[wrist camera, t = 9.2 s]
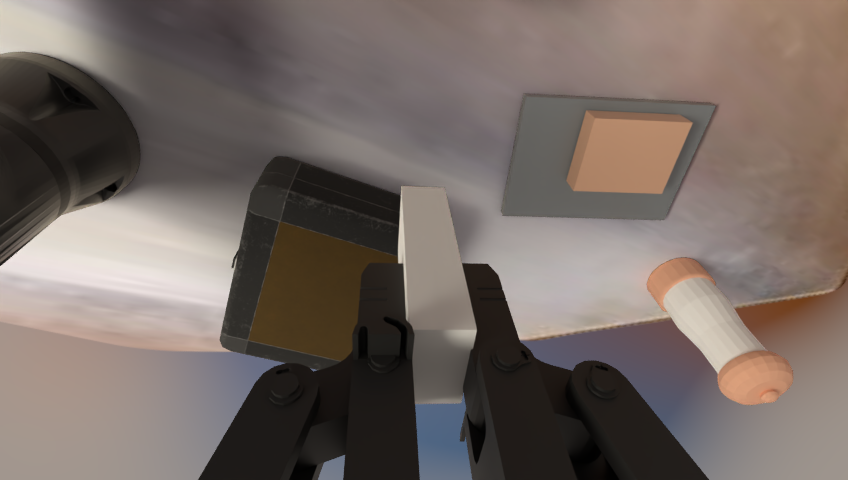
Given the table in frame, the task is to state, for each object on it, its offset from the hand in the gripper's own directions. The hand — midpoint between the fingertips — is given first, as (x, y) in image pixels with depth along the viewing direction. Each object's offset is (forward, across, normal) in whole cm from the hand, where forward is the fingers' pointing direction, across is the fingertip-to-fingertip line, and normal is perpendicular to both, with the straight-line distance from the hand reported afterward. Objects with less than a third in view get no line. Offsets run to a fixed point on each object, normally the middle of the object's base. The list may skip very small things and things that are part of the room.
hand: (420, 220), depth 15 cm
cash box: (+31, -8, -26) cm, 42 cm away
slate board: (+30, +23, -10) cm, 39 cm away
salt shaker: (+30, +39, -27) cm, 56 cm away
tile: (+28, +19, -8) cm, 35 cm away
